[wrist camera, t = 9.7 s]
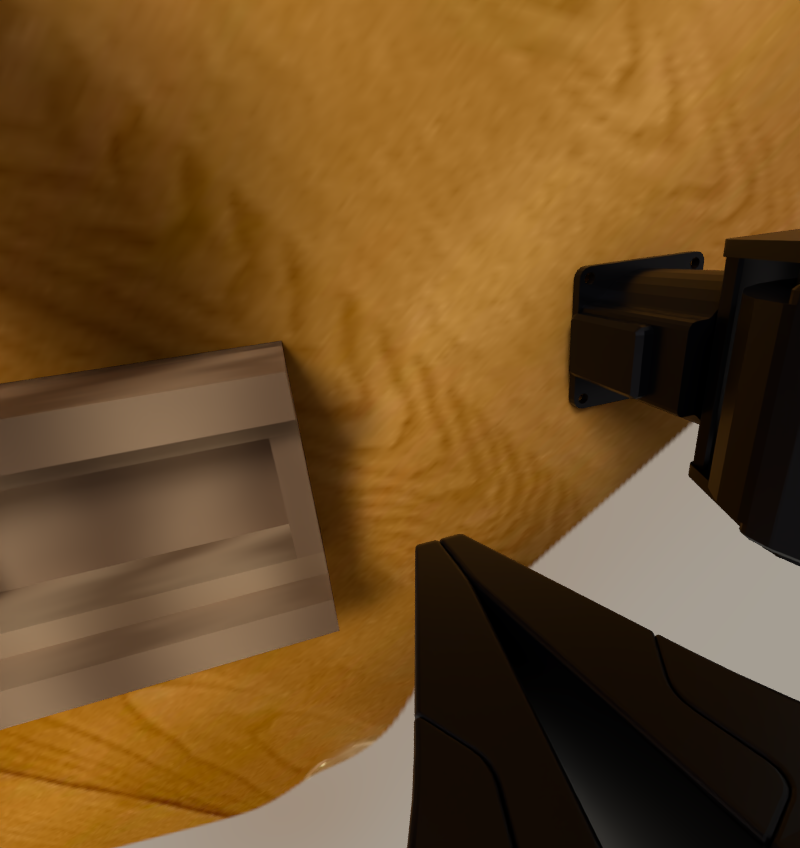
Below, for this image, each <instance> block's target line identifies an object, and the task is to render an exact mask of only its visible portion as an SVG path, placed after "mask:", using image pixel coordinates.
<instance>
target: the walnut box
mask: <svg viewBox="0 0 800 848" xmlns="http://www.w3.org/2000/svg"><path fill="white" fill-rule="evenodd" d="M336 631H339V626H338V621H337V615H336V610H335V605H334V599H333V594H332V589H331V584H330V578H329V573H328V568H327V563H326V557H325V552H324V547H323V542H322V537H321V532H320V528H319V523H318V518H317V513H316V508H315V503H314V498H313V493H312V489H311V484H310V479H309V474H308V469H307V464H306V459H305V455H304V450H303V445H302V440H301V435H300V430H299V425H298V420H297V416H296V411H295V406H294V401H293V396H292V391H291V386H290V381H289V377H288V372H287V367H286V362H285V357H284V352H283V347H282V343H281V341H277V342H271V343H264V344H258V345H251V346H245V347H238V348H232V349H225V350H218V351H212V352H205V353H199V354H192V355H186V356H179V357H173V358H166V359H160V360H153V361H147V362H140V363H133V364H127V365H120V366H114V367H107V368H101V369H94V370H88V371H81V372H75V373H68V374H62V375H55V376H48V377H42V378H35V379H29V380H22V381H16V382H9V383H3V384H0V730H1V729H5V728H8V727H12V726H15V725H18V724H22V723H25V722H29V721H32V720H36V719H39V718H42V717H46V716H49V715H53V714H56V713H59V712H63V711H66V710H70V709H73V708H77V707H80V706H83V705H87V704H90V703H94V702H97V701H100V700H104V699H107V698H111V697H114V696H118V695H121V694H124V693H128V692H131V691H135V690H138V689H141V688H145V687H148V686H152V685H155V684H159V683H162V682H165V681H169V680H172V679H176V678H179V677H182V676H186V675H189V674H193V673H196V672H200V671H203V670H206V669H210V668H213V667H217V666H220V665H223V664H227V663H230V662H234V661H237V660H241V659H244V658H247V657H251V656H254V655H258V654H261V653H264V652H268V651H271V650H275V649H278V648H282V647H285V646H288V645H292V644H295V643H299V642H302V641H305V640H309V639H312V638H316V637H319V636H323V635H326V634H329V633H333V632H336Z"/></svg>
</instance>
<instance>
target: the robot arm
mask: <svg viewBox="0 0 800 848" xmlns="http://www.w3.org/2000/svg"><path fill="white" fill-rule="evenodd" d="M723 257H727V258H726V264H725V270H724V271H719V270H703V265H704V257H703V254H702V253H701V252H682V253H675V254H668V255H661V256H653V257H646V258H639V259H632V260H624V261H617V262H610V263H603V264H595V265H588V266H583V267H581V268H580V269H578V270H577V272H576V274H575V277H574V292H573V316H572V320H571V340H570V365H569V371H570V387H569V401H570V403H571V404H572V405H574V406H576V407H578V408H587V407H592V406H596V405H601V404H606V403H610V402H615V401H620V400H624V399H629V398H631V399H636V400H638V401H641V402H643V403H646V404H648V405H651V406H653V407H656V408H658V409H661V410H663V411H666V412H668V413H671V414H673V415H676V416H678V417H682V418H684V419H687V420H689V421H692V422H694V423H697V424H699V431H698V437H697V443H696V449H695V455H694V461H692V462H691V463H690V468H689V474H688V475H689V477H690V478H691V479H692V480H693V481H694V482H695V483H696V484H697V485H698V486H699V487H700V488H701V489H702V490H703V491H704V492H705V493H706V494H707V495H708V496H709V497H710V498H711V499H713V501H715V502H716V503H717V504H718V505H719V506H720V507H721V508H722V509H723V510H724V511H725V512H726V513H727V514H728V515H729V516H730V517H731V518H732V519H733V520H734V521H735V522H736V523H737V524H738V525H739V526H740V528H739V529H740V532H741V533H742V534H743V535H745V536H746V537H747V538H748V539H749V540H751V541H753V542H755V543H757V544H759V545H761V546H762V547H763V548H765V549H766V550H768V551H770V552H771V553H773V554H774V555H776V556H777V557H779V558H782V559H785V560H787V561H789V562H791V563H793V564H796V565H798V566H800V229H796V230H788V231H781V232H773V233H766V234H759V235H751V236H744V237H736V238H729V239H726V241H725V248H724V254H723ZM691 261H692V265H691V266H690V263H691ZM587 273H588V274H589V280H588V281H587V283H585V276H586V275H587ZM581 394H583V396H582V399H581V400H579V397H580V395H581ZM412 790H413V791H412V806H411V815H410V825H409V834H408V845H407V848H800V701H798V700H795V699H793V698H791V697H788V696H786V695H784V694H782V693H779V692H777V691H775V690H773V689H771V688H768V687H766V686H764V685H762V684H760V683H757V682H755V681H753V680H751V679H748V678H746V677H744V676H742V675H740V674H737V673H735V672H733V671H731V670H729V669H727V668H725V667H723V666H721V665H719V664H716V663H715V662H712V661H710V660H708V659H706V658H704V657H702V656H700V655H698V654H696V653H694V652H692V651H690V650H688V649H686V648H684V647H682V646H680V645H678V644H676V643H674V642H672V641H670V640H668V639H666V638H664V637H663V636H661V635H656V636H654V633H653V632H652V631H650V630H648V629H647V628H645V627H643V626H641V625H639V624H637V623H635V622H633V621H631V620H629V619H627V618H625V617H623V616H621V615H619V614H617V613H615V612H613V611H611V610H610V609H608V608H606V607H604V606H601V605H600V604H598V603H596V602H594V601H592V600H590V599H588V598H586V597H584V596H582V595H580V594H578V593H576V592H574V591H573V590H571V589H569V588H567V587H565V586H563V585H561V584H559V583H556V582H555V581H553V580H551V579H549V578H547V577H545V576H543V575H541V574H539V573H537V572H535V571H534V570H532V569H530V568H528V567H526V566H524V565H522V564H520V563H518V562H516V561H514V560H512V559H510V558H508V557H506V556H504V555H502V554H500V553H498V552H496V551H495V550H493V549H491V548H489V547H487V546H485V545H483V544H481V543H479V542H477V541H475V540H473V539H471V538H469V537H467V536H465V535H463V534H457V535H453V536H449V537H445V538H442V539H441V540H440V541H436V540H434V541H430V542H426V543H423V544H419V545H417V546H416V549H415V721H414V765H413V789H412Z"/></svg>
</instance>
